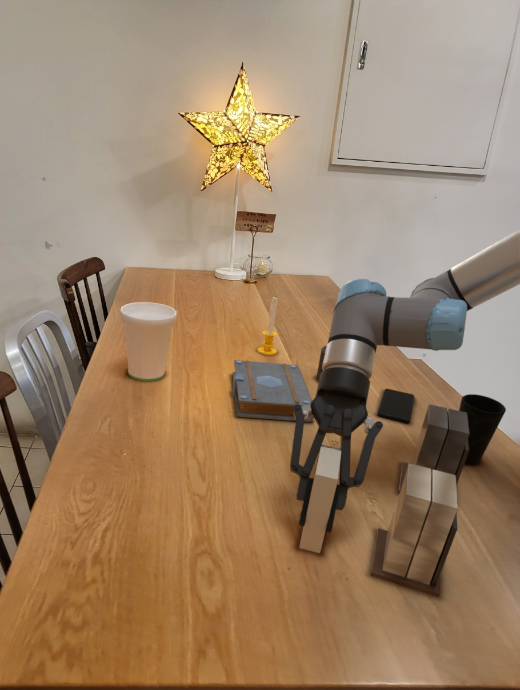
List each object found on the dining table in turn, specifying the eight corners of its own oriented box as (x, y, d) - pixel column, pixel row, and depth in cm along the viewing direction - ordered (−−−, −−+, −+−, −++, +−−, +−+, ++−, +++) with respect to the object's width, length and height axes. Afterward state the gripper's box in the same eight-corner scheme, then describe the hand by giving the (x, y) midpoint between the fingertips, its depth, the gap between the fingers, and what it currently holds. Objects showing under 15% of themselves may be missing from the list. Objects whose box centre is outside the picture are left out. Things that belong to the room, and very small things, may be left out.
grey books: (451, 478, 98) (475, 412, 92) (453, 509, 90) (479, 438, 83) (401, 464, 100) (420, 399, 94) (398, 494, 92) (419, 424, 86)
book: (314, 424, 111) (318, 402, 109) (234, 418, 110) (237, 396, 108) (298, 381, 130) (301, 362, 128) (230, 375, 129) (232, 356, 127)
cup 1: (168, 362, 132) (172, 302, 125) (177, 385, 122) (181, 320, 115) (117, 363, 129) (117, 301, 122) (121, 385, 118) (122, 319, 111)
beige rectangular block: (325, 519, 84) (342, 449, 78) (320, 554, 77) (338, 479, 71) (305, 514, 84) (320, 444, 78) (298, 548, 77) (315, 473, 71)
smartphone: (377, 413, 117) (385, 387, 129) (376, 416, 117) (384, 390, 130) (410, 421, 115) (414, 394, 127) (409, 424, 115) (413, 397, 128)
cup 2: (456, 469, 101) (476, 413, 96) (436, 447, 108) (453, 393, 102) (493, 468, 102) (515, 413, 97) (470, 447, 109) (489, 394, 104)
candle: (268, 347, 149) (276, 292, 142) (280, 354, 145) (289, 297, 138) (253, 349, 146) (261, 293, 139) (265, 356, 142) (273, 299, 135)
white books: (438, 550, 80) (466, 474, 74) (438, 598, 71) (470, 516, 65) (376, 532, 82) (399, 456, 76) (370, 576, 74) (394, 495, 68)
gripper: (394, 394, 84) (369, 544, 77) (293, 374, 87) (259, 517, 80) (405, 376, 77) (377, 540, 70) (294, 355, 80) (257, 510, 73)
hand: (314, 527), depth 75 cm, fingers closed on beige rectangular block, 3 cm apart
